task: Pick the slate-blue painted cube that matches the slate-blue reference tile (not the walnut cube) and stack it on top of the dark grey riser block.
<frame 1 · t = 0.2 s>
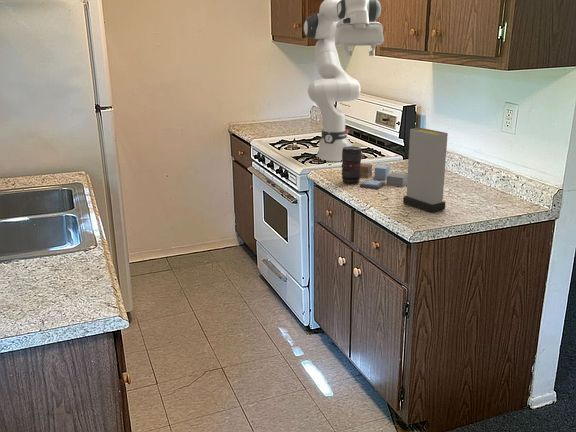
hand: (360, 55, 243), 52 cm above the counter, tool tilted 20°, fingers open, 8 cm apart
slate blue cube: (381, 178, 259), on the counter
reference tile: (372, 185, 247), on the counter
riser block: (397, 184, 250), on the counter
camera lens: (351, 182, 252), on the counter
container: (423, 207, 220), on the counter
walnut cube: (364, 176, 263), on the counter
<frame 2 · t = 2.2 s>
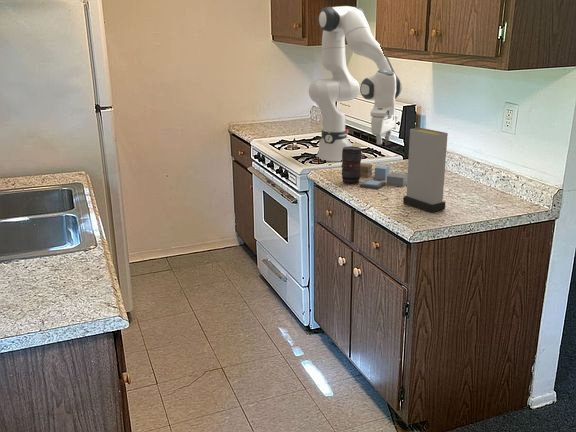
hand: (383, 142, 254), 16 cm above the counter, tool pointing down, fingers open, 8 cm apart
nothing on the counter moved.
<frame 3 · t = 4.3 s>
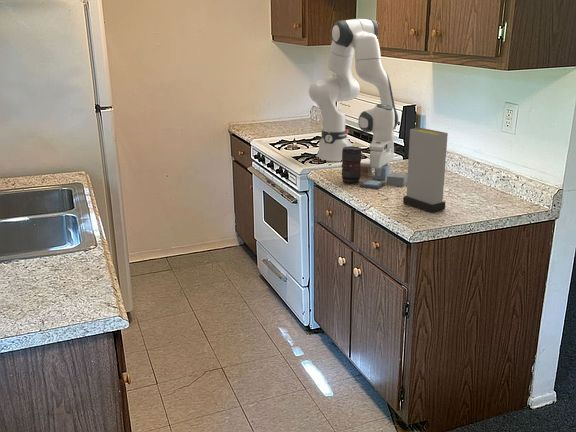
hand: (381, 174, 259), 2 cm above the counter, tool pointing down, fingers closed on slate blue cube, 5 cm apart
slate blue cube: (381, 177, 259), on the counter, touching gripper
everything else where it was.
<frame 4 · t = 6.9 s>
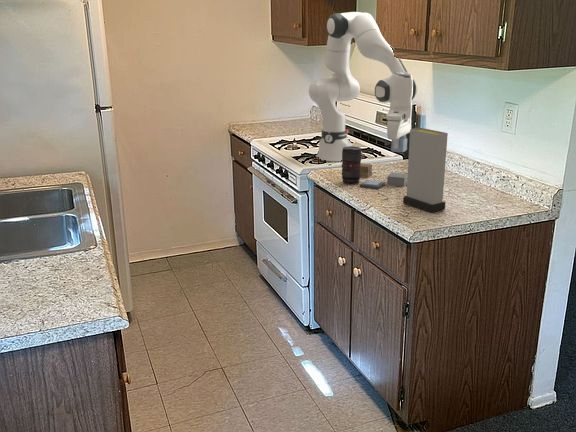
hand: (399, 146, 245), 16 cm above the counter, tool pointing down, fingers closed on slate blue cube, 5 cm apart
slate blue cube: (398, 150, 245), point 14 cm above the counter, touching gripper
everything else where it was.
when the fingers open (7 cm above the counter, at t = 9.2 s): slate blue cube drops 1 cm, point 4 cm above the counter.
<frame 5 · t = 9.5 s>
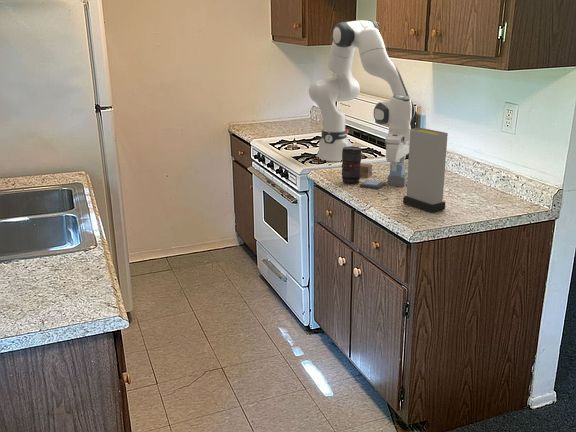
hand: (397, 168, 248), 7 cm above the counter, tool pointing down, fingers open, 8 cm apart
slate blue cube: (397, 175, 249), point 4 cm above the counter
everything else where it was.
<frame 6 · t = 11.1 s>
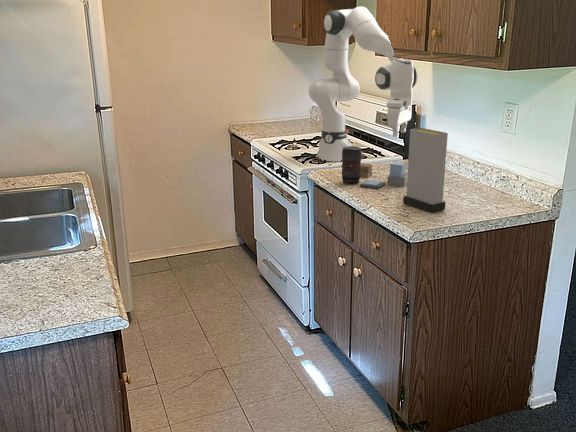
hand: (399, 134, 243), 21 cm above the counter, tool pointing down, fingers open, 8 cm apart
nothing on the counter moved.
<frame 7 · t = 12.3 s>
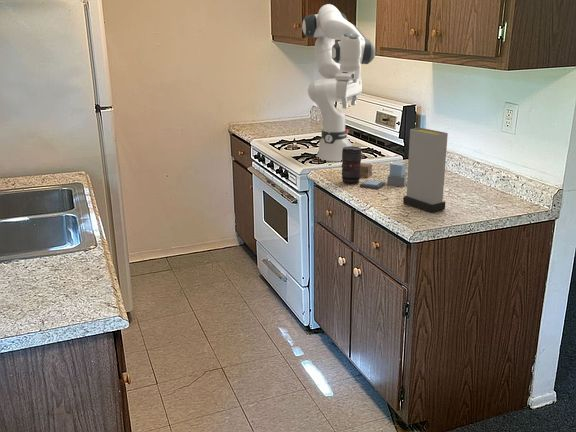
hand: (349, 106, 255), 30 cm above the counter, tool pointing down, fingers open, 8 cm apart
slate blue cube: (397, 175, 249), point 4 cm above the counter, touching riser block
riser block: (396, 184, 250), on the counter, touching slate blue cube
everything else where it was.
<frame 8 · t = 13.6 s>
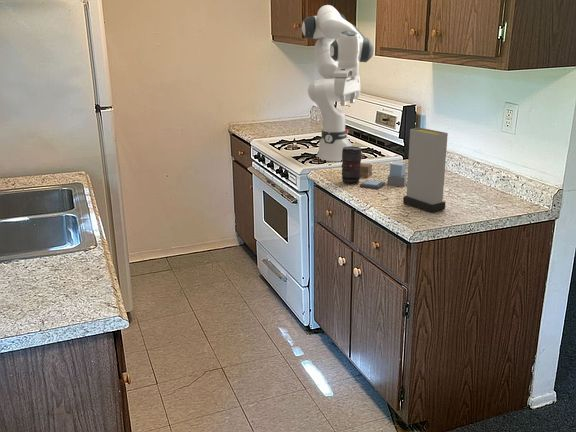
hand: (347, 104, 255), 31 cm above the counter, tool pointing down, fingers open, 8 cm apart
slate blue cube: (397, 175, 249), point 4 cm above the counter
riser block: (396, 184, 250), on the counter
everything else where it was.
at the end: slate blue cube 0.1 cm off-centre on the riser block, point 4.0 cm above the riser block's base; slate blue cube tilted 0°; the gripper is holding nothing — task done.
